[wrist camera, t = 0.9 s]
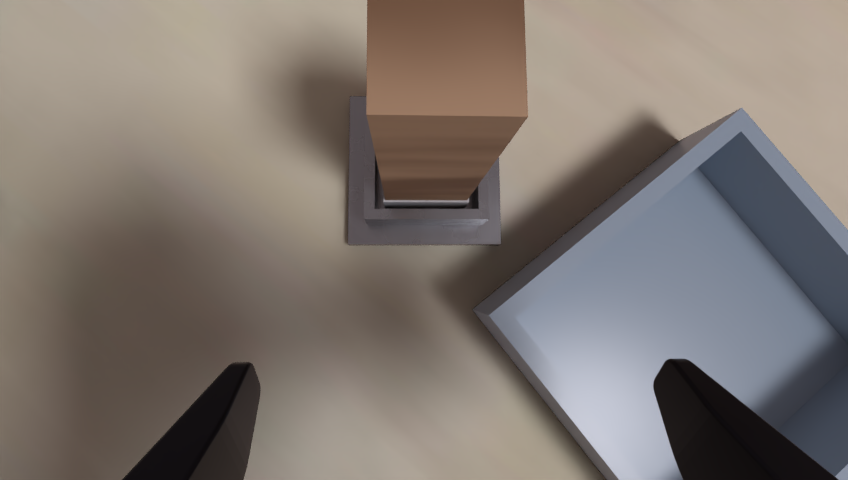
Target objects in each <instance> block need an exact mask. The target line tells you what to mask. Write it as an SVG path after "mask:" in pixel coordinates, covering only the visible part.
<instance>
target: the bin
mask: <svg viewBox="0 0 848 480" xmlns="http://www.w3.org/2000/svg"><path fill="white" fill-rule="evenodd" d="M472 310H473V311H474V313H475V314H476V315H477V316H478V318H479V319H480V320H481V321H482V323H483V324H484V325H485V326H486V328H487V329H488V330H489V332H490V333H491V334H492V335H493V337H494V338H495V339H496V340H497V342H498V343H499V344H500V345H501V347H502V348H503V349H504V351H505V352H506V353H507V354H508V356H509V357H510V358H511V359H512V361H513V362H514V363H515V364H516V366H517V367H518V368H519V370H520V371H521V372H522V373H523V375H524V376H525V377H526V378H527V380H528V381H529V382H530V383H531V385H532V386H533V387H534V389H535V390H536V391H537V392H538V394H539V395H540V396H541V397H542V399H543V400H544V401H545V402H546V404H547V405H548V406H549V408H550V409H551V410H552V411H553V413H554V414H555V415H556V416H557V418H558V419H559V420H560V421H561V423H562V424H563V425H564V427H565V428H566V429H567V430H568V432H569V433H570V434H571V435H572V437H573V438H574V439H575V440H576V442H577V443H578V444H579V446H580V447H581V448H582V449H583V451H584V452H585V453H586V454H587V456H588V457H589V458H590V459H591V461H592V462H593V463H594V464H595V466H596V467H597V468H598V470H599V471H600V472H601V473H602V475H603V476H604V477H605V478H606V480H683V478H682V476H681V474H680V471H679V469H678V466H677V463H676V461H675V458H674V455H673V452H672V449H671V446H670V443H669V440H668V436H667V433H666V430H665V426H664V423H663V420H662V416H661V413H660V410H659V406H658V403H657V400H656V396H655V393H654V389H653V382H654V379H655V377H656V375H657V374H658V372H659V370H660V369H661V367H662V366H663V364H664V362H665V361H666V360H668V359H687V360H689V361H691V362H692V363H694V364H695V365H696V366H697V367H699V368H700V369H701V370H702V371H704V372H705V373H706V374H707V375H709V376H710V377H711V378H712V379H714V380H715V381H716V382H717V383H719V384H720V385H721V386H722V387H724V388H725V389H726V390H727V391H729V392H730V393H731V394H732V395H734V396H735V397H736V398H737V399H739V400H740V401H741V402H742V403H744V404H745V405H746V406H747V407H749V408H750V409H751V410H752V411H754V412H755V413H756V414H757V415H759V416H760V417H761V418H762V419H764V420H765V421H766V422H767V423H769V424H770V425H771V426H772V427H774V428H775V429H776V430H777V431H779V432H780V433H781V434H782V435H784V436H785V437H786V438H787V439H789V440H790V441H791V442H792V443H794V444H795V445H796V446H797V447H799V448H800V449H801V450H802V451H804V452H805V453H806V454H807V455H809V456H810V457H811V458H812V459H814V460H815V461H816V462H817V463H819V464H820V465H821V466H822V467H824V468H825V469H826V470H827V471H829V472H830V473H831V474H832V475H834V476H835V477H836V478H837V479H839V480H848V230H847V229H846V227H845V226H844V225H843V224H842V223H841V222H840V221H839V219H838V218H837V217H836V216H835V215H834V214H833V212H832V211H831V210H830V209H829V208H828V207H827V206H826V204H825V203H824V202H823V201H822V200H821V199H820V197H819V196H818V195H817V194H816V193H815V192H814V190H813V189H812V188H811V187H810V186H809V185H808V184H807V182H806V181H805V180H804V179H803V178H802V177H801V175H800V174H799V173H798V172H797V171H796V170H795V169H794V167H793V166H792V165H791V164H790V163H789V162H788V160H787V159H786V158H785V157H784V156H783V155H782V153H781V152H780V151H779V150H778V149H777V148H776V147H775V145H774V144H773V143H772V142H771V141H770V140H769V138H768V137H767V136H766V135H765V134H764V133H763V132H762V130H761V129H760V128H759V127H758V126H757V125H756V123H755V122H754V121H753V120H752V119H751V118H750V116H749V115H748V114H747V113H746V112H745V111H744V110H743V108H740V109H739V110H737V111H735V112H733V113H731V114H729V115H727V116H725V117H723V118H722V119H720V120H718V121H716V122H714V123H712V124H710V125H708V126H706V127H705V128H703V129H701V130H699V131H697V132H695V133H693V134H691V135H689V136H688V137H686V138H684V139H682V140H680V141H679V142H677V143H676V144H675V145H674V146H672V147H671V148H670V149H669V150H667V151H666V152H665V153H664V154H663V155H661V156H660V157H659V158H658V159H656V160H655V161H654V162H653V163H652V164H650V165H649V166H648V167H647V168H645V169H644V170H643V171H642V172H640V173H639V174H638V175H637V176H636V177H634V178H633V179H632V180H631V181H629V182H628V183H627V184H626V185H625V186H623V187H622V188H621V189H620V190H618V191H617V192H616V193H615V194H613V195H612V196H611V197H610V198H609V199H607V200H606V201H605V202H604V203H602V204H601V205H600V206H599V207H598V208H596V209H595V210H594V211H593V212H591V213H590V214H589V215H588V216H586V217H585V218H584V219H583V220H582V221H580V222H579V223H578V224H577V225H575V226H574V227H573V228H572V229H571V230H569V231H568V232H567V233H566V234H564V235H563V236H562V237H561V238H559V239H558V240H557V241H556V242H555V243H553V244H552V245H551V246H550V247H548V248H547V249H546V250H545V251H544V252H542V253H541V254H540V255H539V256H537V257H536V258H535V259H534V260H532V261H531V262H530V263H529V264H528V265H526V266H525V267H524V268H523V269H521V270H520V271H519V272H518V273H517V274H515V275H514V276H513V277H512V278H510V279H509V280H508V281H507V282H505V283H504V284H503V285H502V286H501V287H499V288H498V289H497V290H496V291H494V292H493V293H492V294H491V295H490V296H488V297H487V298H486V299H485V300H483V301H482V302H481V303H480V304H478V305H477V306H476V307H475V308H474V309H472Z"/></svg>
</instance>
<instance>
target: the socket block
mask: <svg viewBox="0 0 848 480" xmlns="http://www.w3.org/2000/svg"><path fill="white" fill-rule="evenodd" d="M366 105H367V96H350V133H349V205H348V245H500V244H501V223H500V183H499V157H498V158H497V160H496V161H495V163H494V164H493V165H492V167H491V168H490V169H489V171H488V172H487V174H486V175H485V176H484V178H483V179H482V181H481V182H480V183H479V185H478V186H477V187H476V189H475V190H474V192H473V193H472V194H471V196H470V197H469V203H468V205H467V206H466V207H465V208H385V206H384V202H383V187H382V182H381V178H380V173H379V169H378V164H377V160H376V155H375V151H374V146H373V142H372V137H371V133H370V128H369V124H368V120H367V115H366Z"/></svg>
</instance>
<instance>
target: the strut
mask: <svg viewBox="0 0 848 480" xmlns="http://www.w3.org/2000/svg"><path fill="white" fill-rule="evenodd" d="M366 115H367V120H368V124H369V128H370V133H371V137H372V142H373V146H374V151H375V155H376V160H377V164H378V169H379V173H380V178H381V182H382V187H383V202H384V206H385V208H465V207H466V206H467V205H468V203H469V197H470V196H471V194H472V193H473V192H474V190H475V189H476V187H477V186H478V185H479V183H480V182H481V181H482V179H483V178H484V176H485V175H486V174H487V172H488V171H489V169H490V168H491V167H492V165H493V164H494V163H495V161H496V160H497V158H498V157H499V156H500V154H501V153H502V152H503V150H504V149H505V147H506V146H507V145H508V143H509V142H510V141H511V139H512V138H513V136H514V135H515V134H516V132H517V131H518V130H519V128H520V127H521V125H522V124H523V123H524V121H525V120H526V119H527V117H528V106H527V76H526V46H525V16H524V0H367V105H366Z"/></svg>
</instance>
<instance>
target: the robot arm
mask: <svg viewBox="0 0 848 480" xmlns="http://www.w3.org/2000/svg"><path fill="white" fill-rule="evenodd" d="M653 389H654V393H655V396H656V400H657V403H658V406H659V410H660V413H661V416H662V420H663V423H664V426H665V430H666V433H667V436H668V440H669V443H670V446H671V449H672V452H673V455H674V458H675V461H676V463H677V466H678V469H679V471H680V474H681V476H682V478H683V480H839V479H837V478H836V477H835V476H834V475H832V474H831V473H830V472H829V471H827V470H826V469H825V468H824V467H822V466H821V465H820V464H819V463H817V462H816V461H815V460H814V459H812V458H811V457H810V456H809V455H807V454H806V453H805V452H804V451H802V450H801V449H800V448H799V447H797V446H796V445H795V444H794V443H792V442H791V441H790V440H789V439H787V438H786V437H785V436H784V435H782V434H781V433H780V432H779V431H777V430H776V429H775V428H774V427H772V426H771V425H770V424H769V423H767V422H766V421H765V420H764V419H762V418H761V417H760V416H759V415H757V414H756V413H755V412H754V411H752V410H751V409H750V408H749V407H747V406H746V405H745V404H744V403H742V402H741V401H740V400H739V399H737V398H736V397H735V396H734V395H732V394H731V393H730V392H729V391H727V390H726V389H725V388H724V387H722V386H721V385H720V384H719V383H717V382H716V381H715V380H714V379H712V378H711V377H710V376H709V375H707V374H706V373H705V372H704V371H702V370H701V369H700V368H699V367H697V366H696V365H695V364H694V363H692V362H691V361H689V360H687V359H668V360H666V361H665V362H664V364H663V366H662V367H661V369H660V370H659V372H658V374H657V375H656V377H655V379H654V382H653ZM259 399H260V383H259V380H258V377H257V374H256V372H255V369H254V366H253V364H252V363H250V362H235V363H232V364H230V365H229V366H228V367H227V368H226V369H225V370H224V371H223V372H222V373H221V374H220V375H219V376H218V377H217V378H216V380H215V381H214V382H213V383H212V384H211V385H210V386H209V387H208V388H207V389H206V390H205V391H204V392H203V394H202V395H201V396H200V397H199V398H198V399H197V400H196V401H195V402H194V403H193V404H192V405H191V406H190V408H189V409H188V410H187V411H186V412H185V413H184V414H183V415H182V416H181V417H180V418H179V419H178V420H177V421H176V423H175V424H174V425H173V426H172V427H171V428H170V429H169V430H168V431H167V432H166V433H165V434H164V435H163V437H162V438H161V439H160V440H159V441H158V442H157V443H156V444H155V445H154V446H153V447H152V448H151V449H150V451H149V452H148V453H147V454H146V455H145V456H144V457H143V458H142V459H141V460H140V461H139V462H138V463H137V465H136V466H135V467H134V468H133V469H132V470H131V471H130V472H129V473H128V474H127V475H126V476H125V477H124V478H123V480H244V476H245V472H246V468H247V464H248V459H249V454H250V448H251V443H252V437H253V432H254V426H255V421H256V415H257V410H258V404H259Z"/></svg>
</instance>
